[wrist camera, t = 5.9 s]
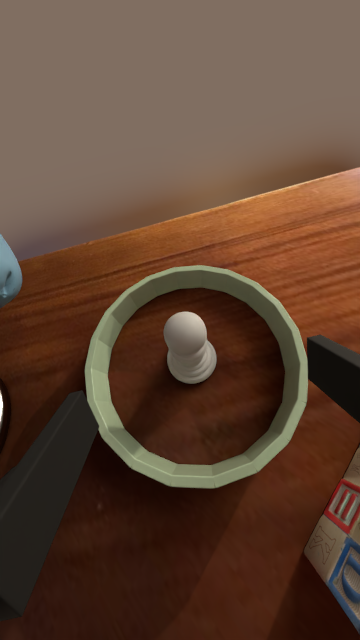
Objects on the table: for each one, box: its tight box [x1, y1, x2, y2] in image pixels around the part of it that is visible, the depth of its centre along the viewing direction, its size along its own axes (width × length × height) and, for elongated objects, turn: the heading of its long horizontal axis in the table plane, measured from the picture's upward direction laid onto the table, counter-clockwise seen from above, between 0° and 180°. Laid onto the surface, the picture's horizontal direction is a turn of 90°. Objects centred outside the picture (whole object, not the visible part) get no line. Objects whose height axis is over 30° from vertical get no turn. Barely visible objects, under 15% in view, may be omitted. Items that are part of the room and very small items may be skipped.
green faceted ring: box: [85, 265, 308, 489], centre depth 20 cm, size 20×20×4 cm
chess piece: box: [164, 312, 216, 384], centre depth 17 cm, size 5×5×9 cm
